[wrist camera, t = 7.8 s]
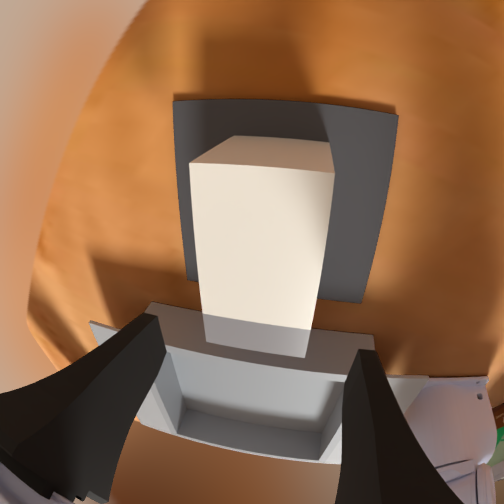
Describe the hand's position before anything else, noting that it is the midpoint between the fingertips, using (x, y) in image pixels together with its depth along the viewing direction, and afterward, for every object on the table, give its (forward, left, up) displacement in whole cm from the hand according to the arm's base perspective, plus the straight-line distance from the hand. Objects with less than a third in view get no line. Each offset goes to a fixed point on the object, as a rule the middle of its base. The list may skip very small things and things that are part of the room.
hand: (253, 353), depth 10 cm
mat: (+1, -2, -9) cm, 9 cm away
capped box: (+1, -1, -9) cm, 9 cm away
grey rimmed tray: (+2, +16, -9) cm, 19 cm away
